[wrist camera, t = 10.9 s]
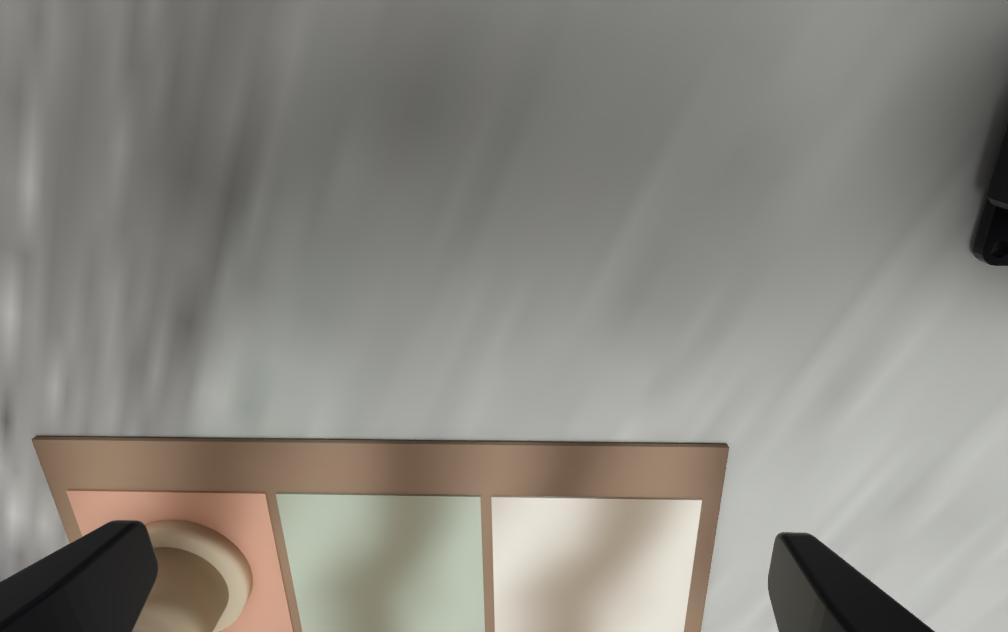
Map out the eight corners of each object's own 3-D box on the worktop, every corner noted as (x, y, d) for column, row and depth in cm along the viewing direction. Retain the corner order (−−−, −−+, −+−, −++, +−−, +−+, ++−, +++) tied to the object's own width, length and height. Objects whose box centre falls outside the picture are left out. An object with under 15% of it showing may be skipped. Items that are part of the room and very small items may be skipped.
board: (727, 444, 21) (729, 449, 21) (691, 680, 26) (692, 687, 26) (35, 436, 22) (29, 441, 22) (119, 666, 27) (115, 672, 27)
